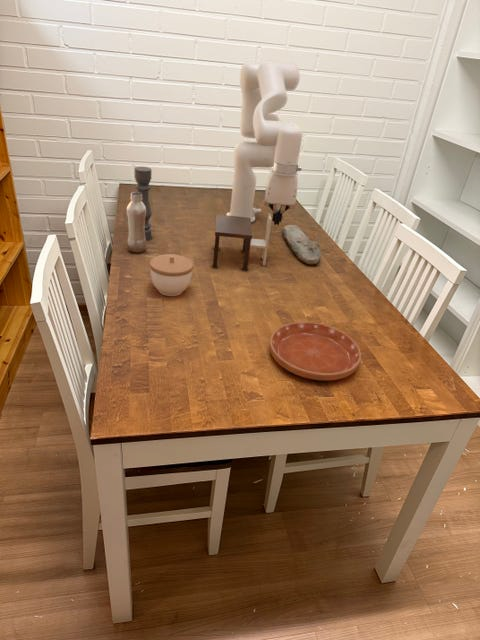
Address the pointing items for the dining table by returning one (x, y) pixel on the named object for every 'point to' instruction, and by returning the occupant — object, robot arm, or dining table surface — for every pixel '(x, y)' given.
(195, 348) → the dining table surface
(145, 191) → the candle holder
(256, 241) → the chair
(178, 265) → the lidded bowl
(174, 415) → the dining table surface
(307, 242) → the long grey stone
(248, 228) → the toy table
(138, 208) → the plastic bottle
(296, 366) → the saucer
